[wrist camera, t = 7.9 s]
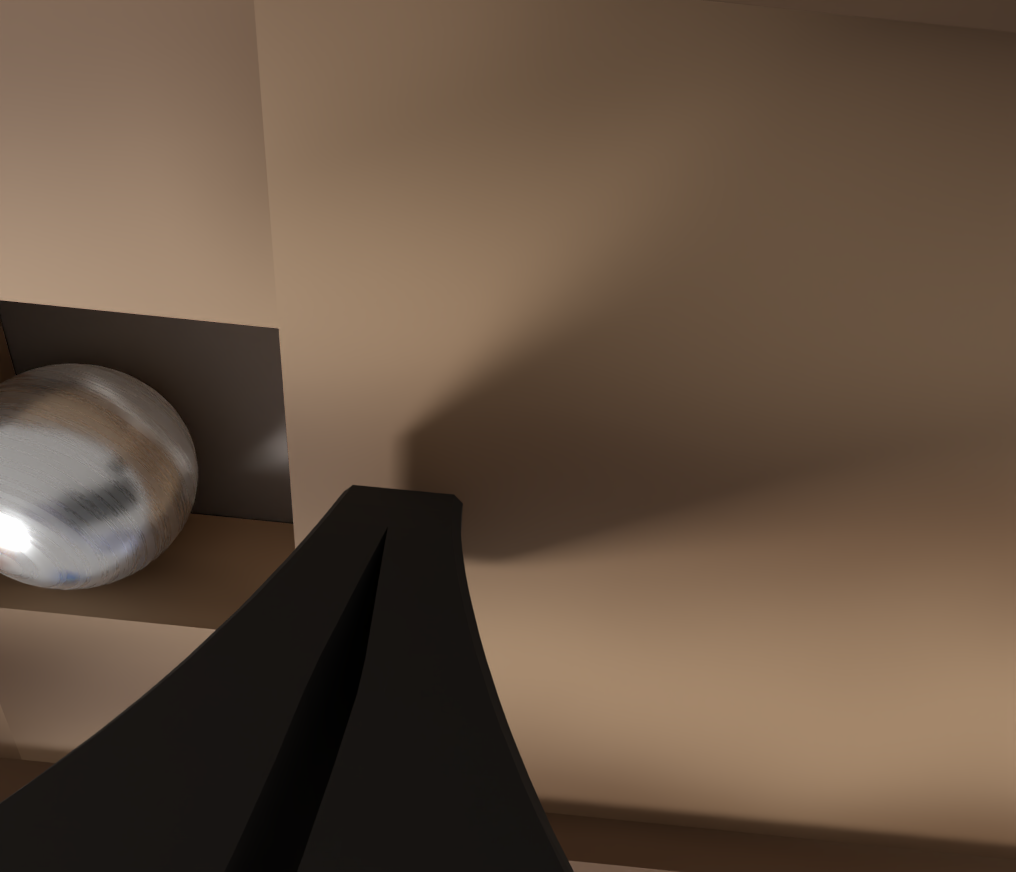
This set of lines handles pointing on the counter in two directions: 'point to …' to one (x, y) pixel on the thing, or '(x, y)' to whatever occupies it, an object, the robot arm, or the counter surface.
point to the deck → (583, 379)
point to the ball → (89, 476)
